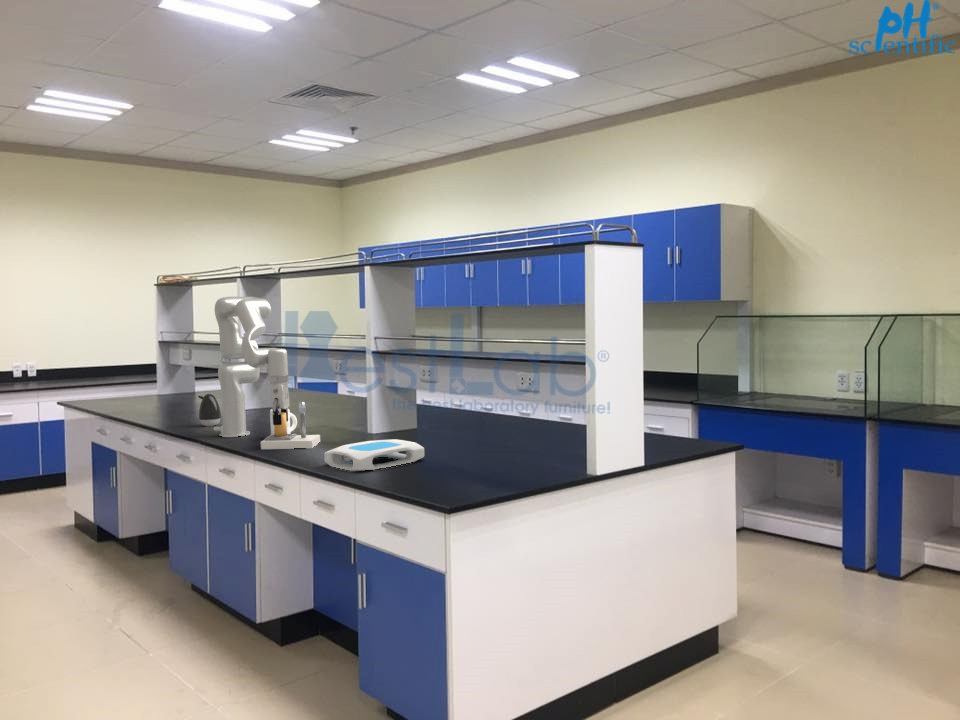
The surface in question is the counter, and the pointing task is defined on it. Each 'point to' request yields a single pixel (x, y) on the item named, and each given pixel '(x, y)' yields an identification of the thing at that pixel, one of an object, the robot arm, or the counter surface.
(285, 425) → the plug
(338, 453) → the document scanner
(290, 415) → the mug
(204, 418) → the pump dispenser
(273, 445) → the socket block
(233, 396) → the robot arm
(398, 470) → the counter surface
